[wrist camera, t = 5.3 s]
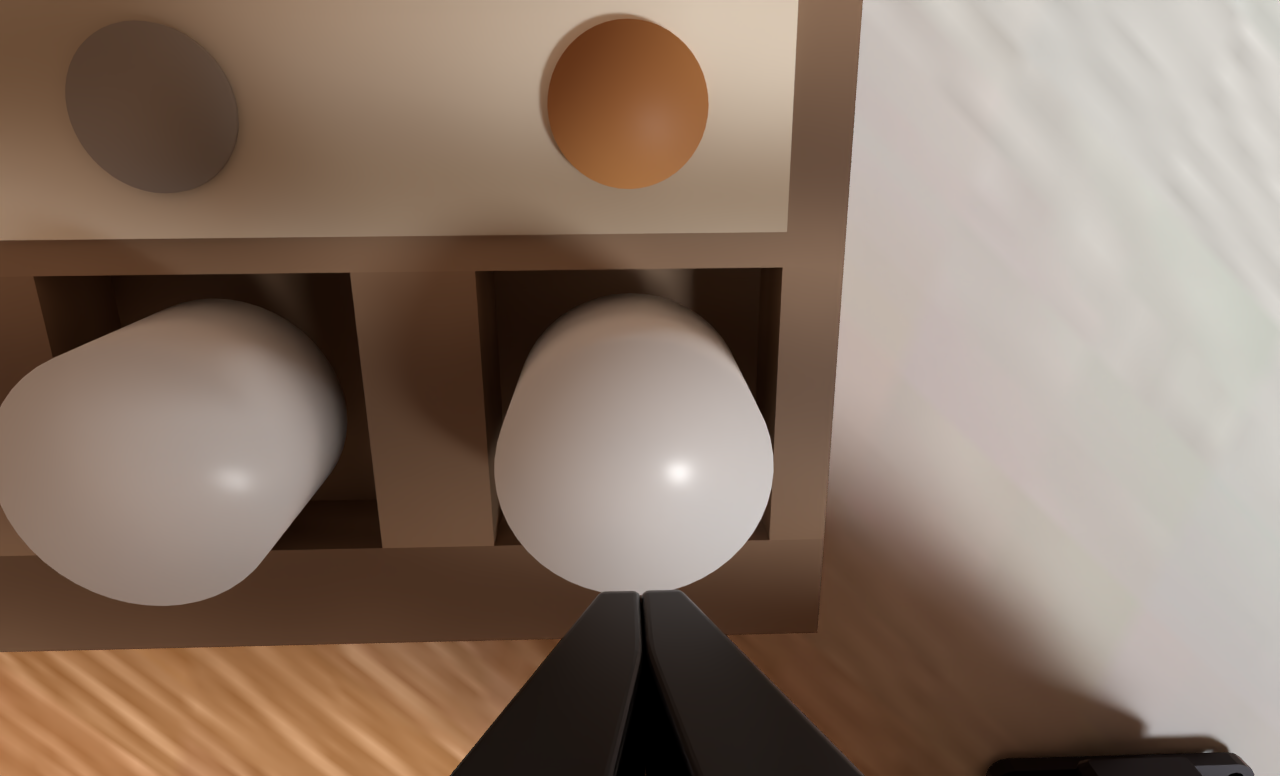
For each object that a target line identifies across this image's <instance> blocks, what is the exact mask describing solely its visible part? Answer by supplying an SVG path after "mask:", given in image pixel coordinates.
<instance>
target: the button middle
mask: <svg viewBox="0 0 1280 776" xmlns="http://www.w3.org/2000/svg"><path fill="white" fill-rule="evenodd" d="M346 432H347V408H346V403H345V398H344V394H343V391H342V388H341V385H340V382H339V380H338V378H337V375H336V373H335V371H334V369H333V367H332V366H331V364H330V363H329V361H328V360H327V358H326V357H325V355H324V354H323V353H322V351H321V350H320V349H319V348H318V347H317V345H316V344H315V343H314V342H313V341H312V340H311V339H310V338H309V337H308V336H307V335H306V334H305V333H303V332H302V331H301V330H300V329H298V328H297V327H296V326H294V325H293V324H292V323H290V322H289V321H287V320H286V319H284V318H282V317H280V316H279V315H277V314H275V313H273V312H271V311H268V310H266V309H264V308H261V307H259V306H256V305H252V304H249V303H246V302H241V301H235V300H229V299H213V298H211V299H198V300H192V301H188V302H183V303H180V304H177V305H174V306H171V307H169V308H166V309H164V310H162V311H159V312H157V313H155V314H152V315H150V316H148V317H146V318H143V319H141V320H139V321H137V322H134V323H132V324H130V325H127V326H125V327H123V328H121V329H118V330H116V331H114V332H112V333H109V334H107V335H105V336H102V337H100V338H98V339H96V340H93V341H91V342H89V343H86V344H84V345H82V346H80V347H77V348H75V349H73V350H71V351H68V352H66V353H64V354H61V355H59V356H57V357H55V358H52V359H51V360H49V361H47V362H45V363H43V364H41V365H39V366H38V367H36V368H35V369H33V370H32V371H31V372H29V373H28V374H27V375H26V376H24V377H23V378H22V379H21V380H20V381H19V382H18V383H17V384H16V385H15V386H14V387H13V388H12V390H11V391H10V392H9V394H8V395H7V397H6V398H5V400H4V401H3V403H2V405H1V407H0V505H1V507H2V509H3V511H4V513H5V515H6V517H7V519H8V520H9V522H10V523H11V525H12V526H13V528H14V529H15V531H16V532H17V534H18V535H19V536H20V537H21V539H22V540H23V541H24V542H25V543H26V544H27V546H28V547H29V548H30V549H31V550H32V551H33V552H34V553H35V554H36V555H37V556H38V557H39V558H40V559H41V560H43V561H44V562H45V563H46V564H47V565H49V566H50V567H51V568H53V569H54V570H55V571H57V572H58V573H59V574H61V575H62V576H64V577H66V578H67V579H69V580H71V581H72V582H74V583H75V584H78V585H80V586H82V587H84V588H86V589H88V590H90V591H92V592H95V593H97V594H100V595H103V596H106V597H108V598H112V599H116V600H120V601H124V602H128V603H134V604H141V605H150V606H171V605H183V604H188V603H193V602H198V601H202V600H205V599H208V598H211V597H214V596H216V595H218V594H220V593H223V592H225V591H227V590H229V589H231V588H232V587H234V586H235V585H237V584H238V583H240V582H241V581H243V580H244V579H245V578H246V577H247V576H248V575H249V574H251V573H252V572H253V571H254V570H255V569H256V568H257V567H258V565H259V564H260V563H261V562H262V560H263V559H264V558H265V557H266V555H267V554H268V553H269V552H270V550H271V549H272V548H273V547H274V545H275V544H276V543H277V541H278V540H279V539H280V538H281V536H282V535H283V534H284V532H285V531H286V530H287V529H288V527H289V526H290V525H291V524H292V522H293V521H294V520H295V518H296V517H297V516H298V515H299V513H300V512H301V511H302V509H303V508H304V507H305V506H306V504H307V503H308V502H309V500H310V499H311V498H312V497H313V495H314V494H315V493H316V492H317V490H318V489H319V488H320V486H321V485H322V484H323V483H324V481H325V480H326V479H327V477H328V476H329V475H330V474H331V472H332V471H333V469H334V467H335V466H336V464H337V462H338V460H339V458H340V455H341V453H342V450H343V447H344V443H345V439H346Z"/></svg>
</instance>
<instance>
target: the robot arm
mask: <svg viewBox="0 0 1280 776" xmlns="http://www.w3.org/2000/svg"><path fill="white" fill-rule="evenodd" d="M450 776H864V774H863V773H862V772H861V771H860V770H859V769H858V768H857V767H856V766H855V765H854V764H853V763H852V762H851V761H850V760H849V759H848V758H847V757H846V756H845V755H844V754H843V753H842V752H841V751H840V750H839V749H838V748H837V747H836V746H835V745H834V744H833V743H832V742H831V741H830V740H829V739H828V738H827V737H826V736H825V735H824V734H823V733H822V732H821V731H820V730H819V729H818V728H817V727H816V726H815V725H814V724H813V723H812V722H811V721H810V720H809V719H808V718H807V717H806V716H805V715H804V714H803V713H802V712H801V711H800V710H799V709H798V708H797V707H796V706H795V705H794V704H793V703H792V702H791V701H790V700H789V699H788V698H787V697H786V696H785V695H784V693H783V692H782V691H781V690H780V689H779V688H778V687H777V686H776V685H775V684H774V683H773V682H772V681H771V680H770V679H769V678H768V677H767V676H766V675H765V674H764V673H763V672H762V671H761V670H760V669H759V668H758V667H757V666H756V665H755V664H754V663H753V662H752V661H751V660H750V659H749V658H748V657H747V656H746V655H745V654H744V653H743V652H742V651H741V650H740V649H739V648H738V647H737V646H736V645H735V644H734V643H733V642H732V641H731V640H730V639H729V638H728V637H727V636H726V635H725V634H724V633H723V632H722V631H721V630H720V629H719V628H718V627H717V626H716V625H715V624H714V623H713V622H712V621H711V620H710V619H709V618H708V617H707V616H706V615H705V614H704V613H703V612H702V610H701V609H700V608H699V607H698V606H697V605H696V604H695V603H694V602H693V601H692V600H691V599H690V598H689V597H688V596H687V595H686V594H685V593H684V592H682V591H680V590H648V591H646V592H644V593H643V594H642V596H641V597H640V595H639V593H637V592H636V591H604V592H601V593H600V594H598V595H597V597H596V598H595V599H594V600H593V601H592V603H591V604H590V605H589V606H588V608H587V609H586V610H585V611H584V612H583V614H582V615H581V616H580V617H579V619H578V620H577V621H576V622H575V623H574V625H573V626H572V627H571V628H570V630H569V631H568V632H567V633H566V634H565V636H564V637H563V638H562V639H561V641H560V642H559V643H558V644H557V645H556V647H555V648H554V649H553V650H552V652H551V653H550V654H549V655H548V656H547V658H546V659H545V660H544V661H543V663H542V664H541V665H540V666H539V667H538V669H537V670H536V671H535V672H534V674H533V675H532V676H531V677H530V678H529V680H528V681H527V682H526V683H525V685H524V686H523V687H522V688H521V689H520V691H519V692H518V693H517V694H516V696H515V697H514V698H513V699H512V700H511V702H510V703H509V704H508V705H507V707H506V708H505V709H504V710H503V711H502V713H501V714H500V715H499V716H498V718H497V719H496V720H495V721H494V722H493V724H492V725H491V726H490V727H489V729H488V730H487V731H486V732H485V733H484V735H483V736H482V737H481V738H480V739H479V741H478V742H477V743H476V744H475V746H474V747H473V748H472V749H471V750H470V752H469V753H468V754H467V755H466V757H465V758H464V759H463V760H462V761H461V763H460V764H459V765H458V766H457V768H456V769H455V770H454V771H453V772H452V774H451V775H450ZM986 776H1254V773H1253V771H1252V769H1251V768H1250V767H1249V766H1248V765H1247V764H1246V763H1245V762H1244V761H1243V760H1242V759H1241V758H1240V757H1239V756H1237V755H1236V754H1234V753H1227V752H1226V753H1191V754H1156V755H1120V756H1085V757H1050V758H1014V759H1004V760H1000V761H998V762H996V763H994V764H993V765H992V766H991V767H990V768H989V769H988V771H987V773H986Z"/></svg>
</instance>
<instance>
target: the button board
mask: <svg viewBox="0 0 1280 776" xmlns="http://www.w3.org/2000/svg"><path fill="white" fill-rule="evenodd" d="M862 3H863V0H0V407H1V405H2V403H3V401H4V400H5V398H6V397H7V395H8V394H9V392H10V391H11V390H12V388H13V387H14V386H15V385H16V384H17V383H18V382H19V381H20V380H21V379H22V378H23V377H24V376H26V375H27V374H28V373H29V372H31V371H32V370H33V369H35V368H36V367H38V366H39V365H41V364H43V363H45V362H47V361H49V360H51V359H52V358H55V357H57V356H59V355H61V354H64V353H66V352H68V351H71V350H73V349H75V348H77V347H80V346H82V345H84V344H86V343H89V342H91V341H93V340H96V339H98V338H100V337H102V336H105V335H107V334H109V333H112V332H114V331H116V330H118V329H121V328H123V327H125V326H127V325H130V324H132V323H134V322H137V321H139V320H141V319H143V318H146V317H148V316H150V315H152V314H155V313H157V312H159V311H162V310H164V309H166V308H169V307H171V306H174V305H177V304H180V303H183V302H188V301H192V300H198V299H211V298H213V299H229V300H235V301H241V302H246V303H249V304H252V305H256V306H259V307H261V308H264V309H266V310H268V311H271V312H273V313H275V314H277V315H279V316H280V317H282V318H284V319H286V320H287V321H289V322H290V323H292V324H293V325H294V326H296V327H297V328H298V329H300V330H301V331H302V332H303V333H305V334H306V335H307V336H308V337H309V338H310V339H311V340H312V341H313V342H314V343H315V344H316V345H317V347H318V348H319V349H320V350H321V351H322V353H323V354H324V355H325V357H326V358H327V360H328V361H329V363H330V364H331V366H332V367H333V369H334V371H335V373H336V375H337V378H338V380H339V382H340V385H341V388H342V391H343V394H344V398H345V403H346V408H347V432H346V439H345V443H344V447H343V450H342V453H341V455H340V458H339V460H338V462H337V464H336V466H335V467H334V469H333V471H332V472H331V474H330V475H329V476H328V477H327V479H326V480H325V481H324V483H323V484H322V485H321V486H320V488H319V489H318V490H317V492H316V493H315V494H314V495H313V497H312V498H311V499H310V500H309V502H308V503H307V504H306V506H305V507H304V508H303V509H302V511H301V512H300V513H299V515H298V516H297V517H296V518H295V520H294V521H293V522H292V524H291V525H290V526H289V527H288V529H287V530H286V531H285V532H284V534H283V535H282V536H281V538H280V539H279V540H278V541H277V543H276V544H275V545H274V547H273V548H272V549H271V550H270V552H269V553H268V554H267V555H266V557H265V558H264V559H263V560H262V562H261V563H260V564H259V565H258V567H257V568H256V569H255V570H254V571H253V572H252V573H251V574H249V575H248V576H247V577H246V578H245V579H244V580H243V581H241V582H240V583H238V584H237V585H235V586H234V587H232V588H231V589H229V590H227V591H225V592H223V593H220V594H218V595H216V596H214V597H211V598H208V599H205V600H202V601H198V602H193V603H188V604H183V605H171V606H150V605H141V604H134V603H128V602H124V601H120V600H116V599H112V598H108V597H106V596H103V595H100V594H97V593H95V592H92V591H90V590H88V589H86V588H84V587H82V586H80V585H78V584H75V583H74V582H72V581H71V580H69V579H67V578H66V577H64V576H62V575H61V574H59V573H58V572H57V571H55V570H54V569H53V568H51V567H50V566H49V565H47V564H46V563H45V562H44V561H43V560H41V559H40V558H39V557H38V556H37V555H36V554H35V553H34V552H33V551H32V550H31V549H30V548H29V547H28V546H27V544H26V543H25V542H24V541H23V540H22V539H21V537H20V536H19V535H18V534H17V532H16V531H15V529H14V528H13V526H12V525H11V523H10V522H9V520H8V519H7V517H6V515H5V513H4V511H3V509H2V507H1V505H0V652H26V651H68V650H110V649H151V648H193V647H235V646H277V645H318V644H360V643H402V642H444V641H485V640H527V639H562V638H563V637H564V636H565V634H566V633H567V632H568V631H569V630H570V628H571V627H572V626H573V625H574V623H575V622H576V621H577V620H578V619H579V617H580V616H581V615H582V614H583V612H584V611H585V610H586V609H587V608H588V606H589V605H590V604H591V603H592V601H593V600H594V599H595V598H596V597H597V595H598V594H600V593H601V592H599V591H595V590H591V589H588V588H584V587H582V586H579V585H577V584H574V583H572V582H569V581H567V580H565V579H564V578H562V577H560V576H558V575H556V574H555V573H553V572H552V571H550V570H549V569H547V568H546V567H545V566H543V565H542V564H541V563H539V562H538V561H537V560H536V559H535V558H534V557H533V556H532V555H531V554H530V553H529V552H528V551H527V550H526V549H525V548H524V547H523V545H522V544H521V543H520V542H519V540H518V539H517V538H516V536H515V535H514V533H513V531H512V530H511V528H510V527H509V525H508V523H507V521H506V518H505V516H504V514H503V512H502V510H501V506H500V503H499V499H498V496H497V491H496V484H495V477H494V465H495V453H496V446H497V441H498V438H499V435H500V431H501V428H502V425H503V422H504V419H505V416H506V414H507V411H508V408H509V405H510V402H511V400H512V397H513V394H514V391H515V388H516V385H517V383H518V380H519V377H520V374H521V371H522V368H523V366H524V363H525V361H526V359H527V357H528V354H529V352H530V350H531V349H532V347H533V346H534V344H535V343H536V341H537V339H538V338H539V337H540V336H541V335H542V333H543V332H544V331H545V330H546V329H547V328H548V327H549V326H550V325H551V324H552V323H553V322H554V321H555V320H557V319H558V318H559V317H560V316H562V315H563V314H565V313H566V312H568V311H569V310H571V309H573V308H575V307H577V306H579V305H581V304H583V303H585V302H587V301H590V300H593V299H596V298H599V297H604V296H608V295H613V294H625V293H636V294H648V295H653V296H659V297H662V298H665V299H668V300H672V301H674V302H677V303H679V304H681V305H683V306H685V307H687V308H689V309H690V310H692V311H694V312H695V313H697V314H698V315H700V316H701V317H702V318H703V319H705V320H706V321H707V322H708V323H709V324H710V325H712V327H713V328H714V329H715V330H716V331H717V332H718V333H719V334H720V336H721V337H722V338H723V340H724V341H725V343H726V344H727V346H728V347H729V349H730V351H731V353H732V355H733V357H734V359H735V361H736V363H737V365H738V367H739V369H740V371H741V373H742V375H743V378H744V380H745V382H746V384H747V386H748V388H749V390H750V392H751V394H752V396H753V398H754V400H755V402H756V404H757V406H758V408H759V410H760V412H761V414H762V416H763V418H764V420H765V423H766V426H767V429H768V432H769V435H770V439H771V445H772V451H773V471H774V472H773V480H772V488H771V492H770V496H769V499H768V503H767V506H766V508H765V511H764V513H763V516H762V518H761V520H760V522H759V523H758V525H757V527H756V529H755V530H754V532H753V534H752V535H751V536H750V538H749V539H748V540H747V542H746V543H745V544H744V545H743V547H742V548H741V549H740V550H739V551H738V552H737V553H736V554H735V555H734V556H733V557H732V558H731V559H730V560H728V561H727V562H726V563H725V564H723V565H722V566H721V567H719V568H718V569H717V570H715V571H714V572H712V573H710V574H709V575H707V576H705V577H704V578H702V579H700V580H697V581H695V582H693V583H691V584H689V585H686V586H683V587H680V588H677V589H674V590H680V591H682V592H684V593H685V594H686V595H687V596H688V597H689V598H690V599H691V600H692V601H693V602H694V603H695V604H696V605H697V606H698V607H699V608H700V609H701V610H702V612H703V613H704V614H705V615H706V616H707V617H708V618H709V619H710V620H711V621H712V622H713V623H714V624H715V625H716V626H717V627H718V628H719V629H720V630H721V631H722V632H723V633H724V634H725V635H736V634H778V633H817V629H818V615H819V601H820V587H821V573H822V559H823V545H824V531H825V517H826V503H827V489H828V476H829V462H830V448H831V434H832V420H833V406H834V392H835V378H836V364H837V350H838V337H839V323H840V309H841V295H842V281H843V267H844V253H845V239H846V225H847V211H848V198H849V184H850V170H851V156H852V142H853V128H854V114H855V100H856V86H857V72H858V59H859V45H860V31H861V17H862ZM641 596H642V595H640V597H641Z"/></svg>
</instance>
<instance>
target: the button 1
mask: <svg viewBox="0 0 1280 776" xmlns="http://www.w3.org/2000/svg"><path fill="white" fill-rule="evenodd" d="M773 472H774V471H773V451H772V445H771V439H770V435H769V432H768V429H767V426H766V423H765V420H764V418H763V416H762V414H761V412H760V410H759V408H758V406H757V404H756V402H755V400H754V398H753V396H752V394H751V392H750V390H749V388H748V386H747V384H746V382H745V380H744V378H743V375H742V373H741V371H740V369H739V367H738V365H737V363H736V361H735V359H734V357H733V355H732V353H731V351H730V349H729V347H728V346H727V344H726V343H725V341H724V340H723V338H722V337H721V336H720V334H719V333H718V332H717V331H716V330H715V329H714V328H713V327H712V325H710V324H709V323H708V322H707V321H706V320H705V319H703V318H702V317H701V316H700V315H698V314H697V313H695V312H694V311H692V310H690V309H689V308H687V307H685V306H683V305H681V304H679V303H677V302H674V301H672V300H668V299H665V298H662V297H659V296H653V295H648V294H636V293H625V294H613V295H608V296H604V297H599V298H596V299H593V300H590V301H587V302H585V303H583V304H581V305H579V306H577V307H575V308H573V309H571V310H569V311H568V312H566V313H565V314H563V315H562V316H560V317H559V318H558V319H557V320H555V321H554V322H553V323H552V324H551V325H550V326H549V327H548V328H547V329H546V330H545V331H544V332H543V333H542V335H541V336H540V337H539V338H538V339H537V341H536V343H535V344H534V346H533V347H532V349H531V350H530V352H529V354H528V357H527V359H526V361H525V363H524V366H523V368H522V371H521V374H520V377H519V380H518V383H517V385H516V388H515V391H514V394H513V397H512V400H511V402H510V405H509V408H508V411H507V414H506V416H505V419H504V422H503V425H502V428H501V431H500V435H499V438H498V441H497V446H496V453H495V465H494V477H495V484H496V491H497V496H498V499H499V503H500V506H501V510H502V512H503V514H504V516H505V518H506V521H507V523H508V525H509V527H510V528H511V530H512V531H513V533H514V535H515V536H516V538H517V539H518V540H519V542H520V543H521V544H522V545H523V547H524V548H525V549H526V550H527V551H528V552H529V553H530V554H531V555H532V556H533V557H534V558H535V559H536V560H537V561H538V562H539V563H541V564H542V565H543V566H545V567H546V568H547V569H549V570H550V571H552V572H553V573H555V574H556V575H558V576H560V577H562V578H564V579H565V580H567V581H569V582H572V583H574V584H577V585H579V586H582V587H584V588H588V589H591V590H595V591H599V592H604V591H636V592H637V593H639V595H642V594H643V593H644V592H646V591H648V590H674V589H677V588H680V587H683V586H686V585H689V584H691V583H693V582H695V581H697V580H700V579H702V578H704V577H705V576H707V575H709V574H710V573H712V572H714V571H715V570H717V569H718V568H719V567H721V566H722V565H723V564H725V563H726V562H727V561H728V560H730V559H731V558H732V557H733V556H734V555H735V554H736V553H737V552H738V551H739V550H740V549H741V548H742V547H743V545H744V544H745V543H746V542H747V540H748V539H749V538H750V536H751V535H752V534H753V532H754V530H755V529H756V527H757V525H758V523H759V522H760V520H761V518H762V516H763V513H764V511H765V508H766V506H767V503H768V499H769V496H770V492H771V488H772V480H773Z"/></svg>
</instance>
